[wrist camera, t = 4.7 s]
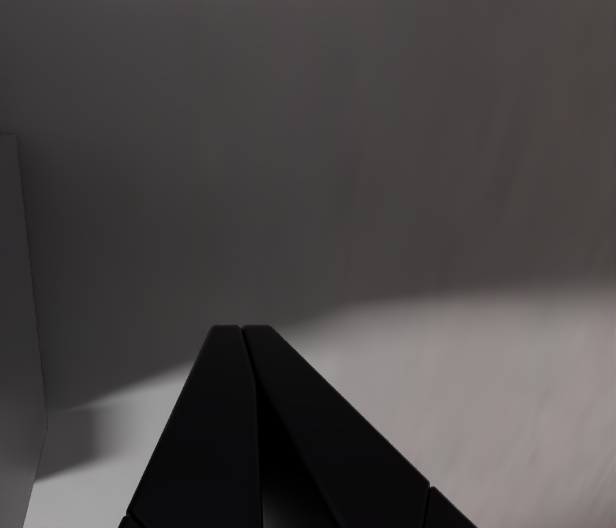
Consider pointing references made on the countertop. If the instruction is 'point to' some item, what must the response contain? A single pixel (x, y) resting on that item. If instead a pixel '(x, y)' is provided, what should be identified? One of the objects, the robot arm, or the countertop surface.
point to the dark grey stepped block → (17, 351)
